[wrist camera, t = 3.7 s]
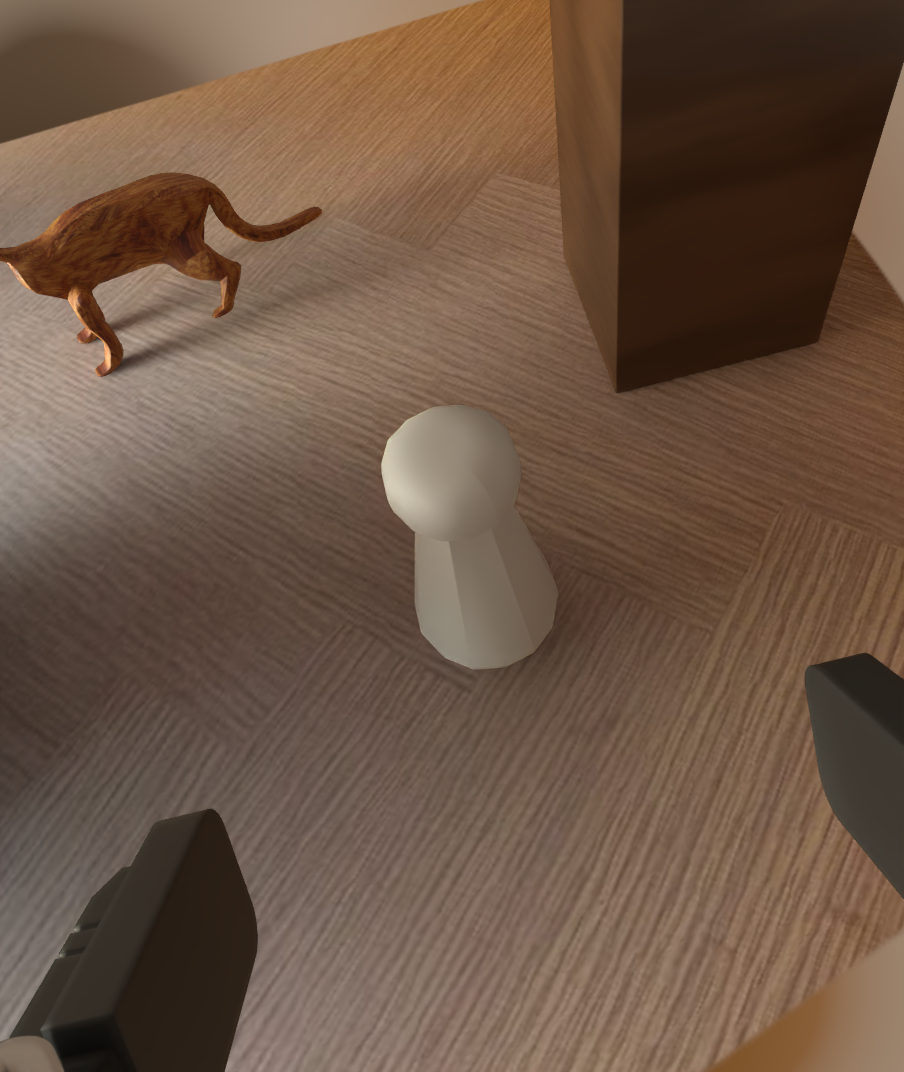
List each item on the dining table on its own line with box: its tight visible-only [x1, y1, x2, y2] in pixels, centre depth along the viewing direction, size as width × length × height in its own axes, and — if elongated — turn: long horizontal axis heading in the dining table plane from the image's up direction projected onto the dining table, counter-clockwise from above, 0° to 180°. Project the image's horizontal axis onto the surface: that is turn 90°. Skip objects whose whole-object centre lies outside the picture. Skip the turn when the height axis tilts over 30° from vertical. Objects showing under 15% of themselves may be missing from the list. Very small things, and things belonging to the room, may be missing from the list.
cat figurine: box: [0, 173, 322, 377], centre depth 44 cm, size 18×7×14 cm, turn 122°
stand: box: [550, 0, 904, 393], centre depth 35 cm, size 10×10×21 cm
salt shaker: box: [381, 404, 559, 670], centre depth 31 cm, size 6×6×13 cm
